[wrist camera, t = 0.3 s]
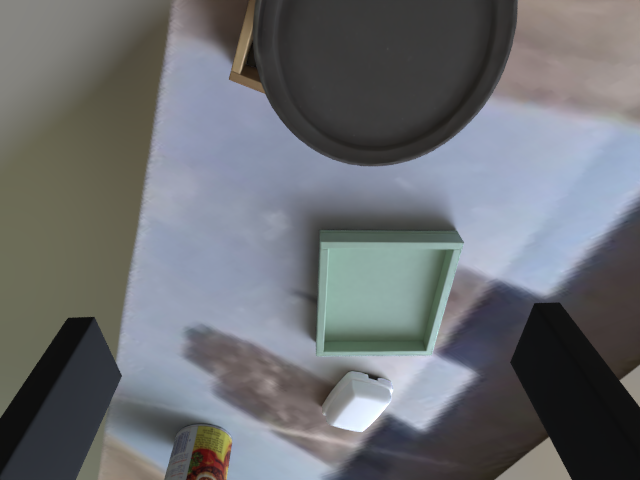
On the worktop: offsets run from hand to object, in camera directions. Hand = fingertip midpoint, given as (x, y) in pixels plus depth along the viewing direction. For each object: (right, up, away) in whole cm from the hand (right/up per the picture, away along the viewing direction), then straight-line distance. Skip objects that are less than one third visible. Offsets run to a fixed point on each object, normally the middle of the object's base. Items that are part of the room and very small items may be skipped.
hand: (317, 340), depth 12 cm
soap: (+5, -17, +40) cm, 43 cm away
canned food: (-16, -25, +44) cm, 54 cm away
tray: (+6, -2, +29) cm, 30 cm away
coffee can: (+2, +19, +15) cm, 24 cm away
